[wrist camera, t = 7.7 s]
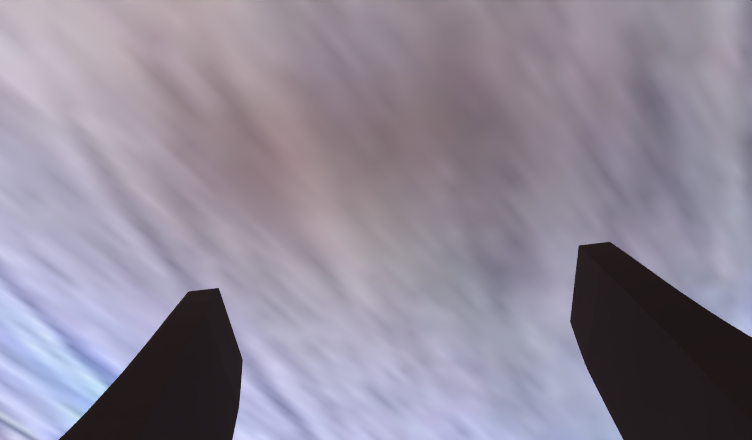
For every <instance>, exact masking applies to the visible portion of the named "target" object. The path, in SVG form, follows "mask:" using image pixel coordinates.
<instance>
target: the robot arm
mask: <svg viewBox="0 0 752 440" xmlns="http://www.w3.org/2000/svg"><path fill="white" fill-rule="evenodd" d="M570 322H571V325H572V328H573V331H574V334H575V337H576V340H577V343H578V346H579V348H580V351H581V354H582V356H583V359H584V362H585V365H586V367H587V369H588V371H589V373H590V375H591V377H592V379H593V381H594V383H595V385H596V387H597V389H598V391H599V393H600V395H601V397H602V399H603V401H604V403H605V405H606V407H607V409H608V411H609V413H610V415H611V417H612V418H613V420H614V422H615V424H616V426H617V428H618V430H619V432H620V434H621V436H622V438H623V440H752V337H750V336H748V335H747V334H745V333H743V332H742V331H740V330H738V329H737V328H735V327H734V326H732V325H730V324H729V323H727V322H725V321H724V320H722V319H721V318H719V317H717V316H716V315H714V314H713V313H711V312H710V311H708V310H707V309H705V308H704V307H702V306H701V305H699V304H698V303H696V302H695V301H693V300H692V299H690V298H689V297H687V296H686V295H684V294H683V293H681V292H680V291H678V290H677V289H676V288H674V287H673V286H671V285H670V284H668V283H667V282H666V281H664V280H663V279H661V278H660V277H659V276H657V275H656V274H654V273H653V272H652V271H650V270H649V269H647V268H646V267H645V266H643V265H642V264H640V263H639V262H638V261H636V260H635V259H633V258H632V257H631V256H629V255H628V254H626V253H625V252H624V251H622V250H621V249H619V248H618V247H616V246H615V245H613V244H612V243H610V242H605V243H597V244H588V245H580V246H579V249H578V258H577V267H576V275H575V284H574V293H573V302H572V311H571V320H570ZM242 361H243V360H242V357H241V354H240V351H239V348H238V345H237V342H236V339H235V336H234V333H233V330H232V327H231V324H230V321H229V318H228V315H227V312H226V309H225V306H224V303H223V300H222V297H221V294H220V291H219V288H215V289H207V290H199V291H190V292H188V293H187V294H186V295H185V297H184V298H183V299H182V300H181V301H180V303H179V304H178V305H177V306H176V307H175V309H174V310H173V311H172V312H171V314H170V315H169V316H168V317H167V319H166V320H165V321H164V322H163V324H162V325H161V326H160V327H159V329H158V330H157V331H156V332H155V334H154V335H153V336H152V337H151V339H150V340H149V341H148V342H147V344H146V345H145V346H144V347H143V348H142V350H141V351H140V352H139V353H138V354H137V356H136V357H135V358H134V359H133V360H132V362H131V363H130V364H129V365H128V366H127V368H126V369H125V370H124V371H123V372H122V374H121V375H120V376H119V377H118V378H117V379H116V380H115V381H114V382H113V384H112V385H111V386H110V387H109V388H108V389H107V390H106V391H105V392H104V393H103V395H102V396H101V397H100V398H99V399H98V400H97V401H96V402H95V403H94V404H93V406H92V407H91V408H90V409H89V410H88V411H87V412H86V413H85V414H84V415H83V416H82V417H81V418H80V419H79V420H78V421H77V422H76V423H75V424H74V425H73V426H72V427H71V428H70V429H69V430H68V431H67V432H66V433H65V434H64V435H63V436H62V437H61V438H60V439H59V440H232V438H233V433H234V429H235V424H236V419H237V414H238V409H239V400H240V389H241V375H242Z"/></svg>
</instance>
